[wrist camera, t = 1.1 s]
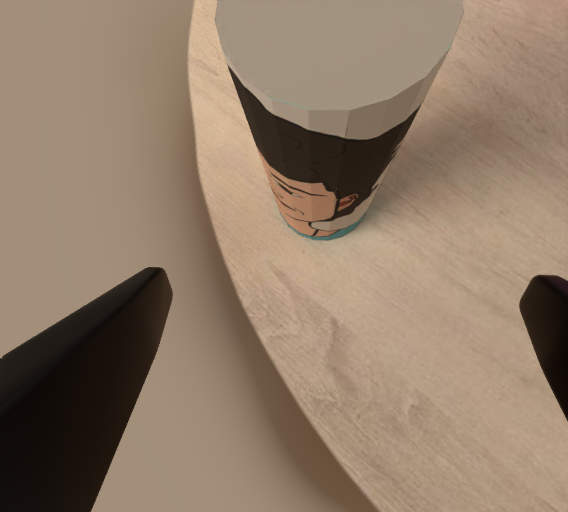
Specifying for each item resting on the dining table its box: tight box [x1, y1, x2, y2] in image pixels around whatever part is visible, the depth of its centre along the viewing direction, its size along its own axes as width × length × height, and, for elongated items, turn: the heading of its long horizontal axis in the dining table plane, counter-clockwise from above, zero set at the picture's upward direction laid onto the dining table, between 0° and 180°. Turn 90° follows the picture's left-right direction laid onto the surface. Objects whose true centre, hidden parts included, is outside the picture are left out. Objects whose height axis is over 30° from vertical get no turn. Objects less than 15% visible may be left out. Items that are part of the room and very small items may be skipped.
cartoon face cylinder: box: [215, 0, 464, 240], centre depth 16 cm, size 7×7×15 cm
